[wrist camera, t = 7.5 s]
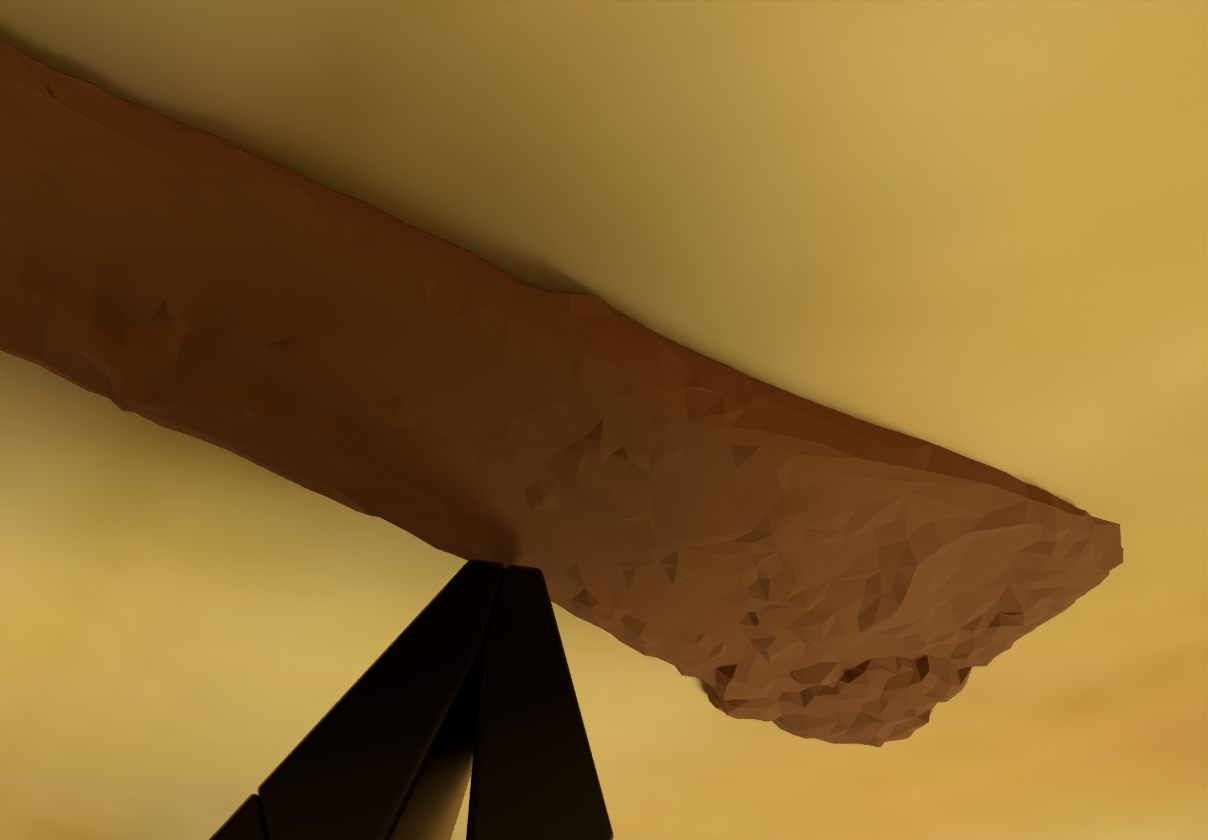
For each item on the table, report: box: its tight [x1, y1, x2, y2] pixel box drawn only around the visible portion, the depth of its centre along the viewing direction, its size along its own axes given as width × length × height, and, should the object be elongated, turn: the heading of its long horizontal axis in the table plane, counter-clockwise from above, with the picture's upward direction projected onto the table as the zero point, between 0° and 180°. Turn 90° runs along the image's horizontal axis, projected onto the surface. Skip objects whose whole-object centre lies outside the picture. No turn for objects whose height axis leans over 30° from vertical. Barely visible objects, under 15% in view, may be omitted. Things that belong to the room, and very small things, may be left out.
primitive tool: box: [0, 42, 1123, 747], centre depth 8 cm, size 19×6×4 cm, turn 62°
